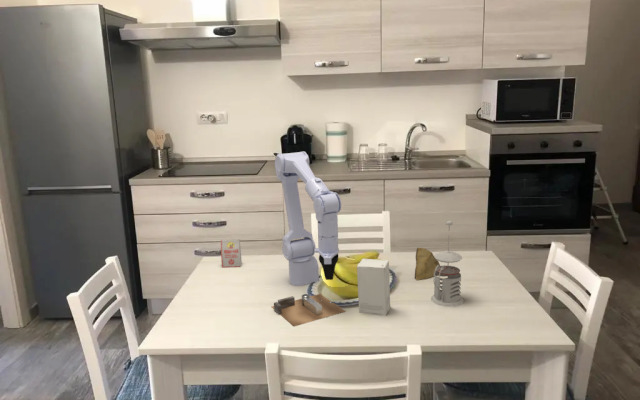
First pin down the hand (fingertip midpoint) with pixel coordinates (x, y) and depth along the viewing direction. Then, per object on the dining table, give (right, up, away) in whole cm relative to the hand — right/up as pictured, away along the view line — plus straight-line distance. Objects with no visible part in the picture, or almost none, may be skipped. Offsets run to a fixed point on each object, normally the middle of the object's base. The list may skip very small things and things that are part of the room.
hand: (329, 278), depth 154 cm
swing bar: (-5, -9, 0) cm, 10 cm away
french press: (+35, -7, +5) cm, 37 cm away
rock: (+34, -3, +24) cm, 42 cm away
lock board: (-6, -10, 0) cm, 12 cm away
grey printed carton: (-35, -1, +40) cm, 53 cm away
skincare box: (+13, -10, -2) cm, 16 cm away
